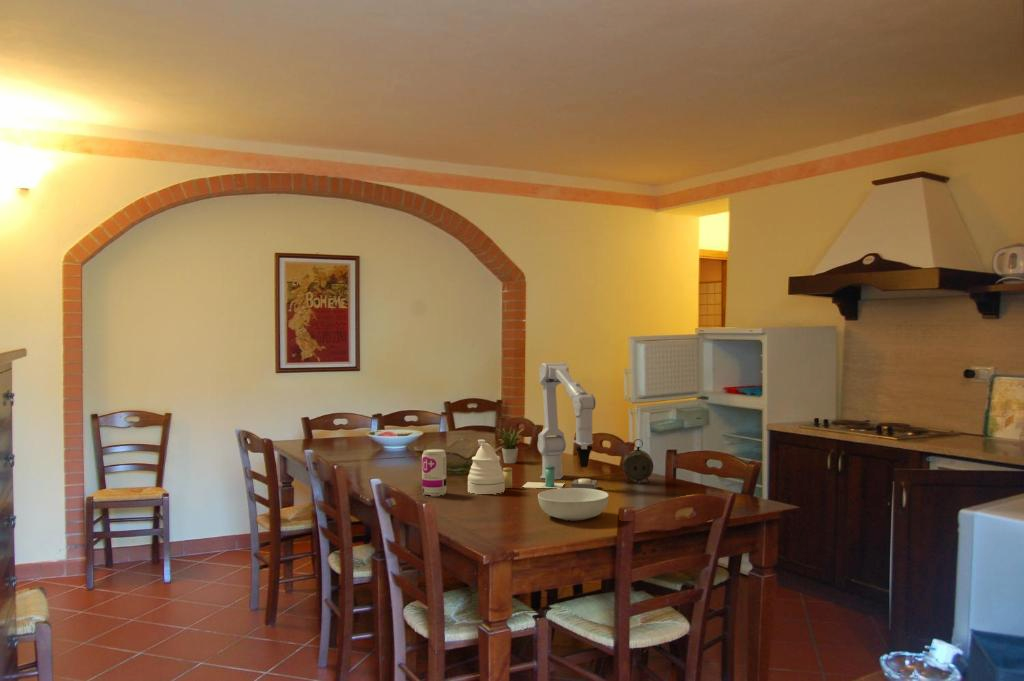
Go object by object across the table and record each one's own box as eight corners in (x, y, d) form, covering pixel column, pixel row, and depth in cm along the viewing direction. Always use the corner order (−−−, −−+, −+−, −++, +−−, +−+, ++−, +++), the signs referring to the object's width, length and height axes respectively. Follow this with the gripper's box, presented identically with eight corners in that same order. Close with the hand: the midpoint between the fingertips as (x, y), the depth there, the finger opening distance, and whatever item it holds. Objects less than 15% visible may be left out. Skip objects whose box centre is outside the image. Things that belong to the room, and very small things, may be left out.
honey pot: (482, 496, 252) (482, 443, 252) (460, 490, 262) (460, 439, 262) (512, 491, 260) (512, 439, 260) (489, 486, 270) (489, 436, 270)
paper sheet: (527, 482, 276) (527, 481, 276) (564, 484, 273) (564, 483, 273) (521, 487, 266) (521, 487, 266) (560, 489, 263) (560, 488, 263)
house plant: (485, 464, 319) (485, 426, 319) (496, 459, 332) (496, 422, 333) (517, 465, 315) (517, 427, 315) (527, 460, 328) (527, 423, 328)
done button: (579, 486, 267) (579, 478, 267) (591, 487, 266) (591, 478, 266) (577, 489, 263) (577, 480, 263) (590, 489, 262) (589, 480, 262)
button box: (574, 486, 269) (574, 479, 269) (597, 486, 267) (596, 480, 267) (571, 490, 261) (571, 483, 261) (594, 491, 259) (594, 484, 259)
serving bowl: (564, 506, 236) (564, 484, 236) (622, 516, 222) (622, 492, 222) (523, 518, 219) (523, 495, 219) (582, 529, 206) (582, 504, 206)
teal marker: (546, 485, 269) (546, 465, 270) (555, 485, 269) (555, 466, 269) (544, 486, 266) (544, 466, 266) (553, 487, 265) (553, 467, 266)
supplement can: (434, 497, 250) (434, 452, 250) (417, 494, 255) (417, 450, 255) (451, 493, 256) (451, 450, 256) (433, 491, 261) (433, 448, 261)
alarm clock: (652, 482, 276) (652, 438, 276) (653, 484, 271) (653, 440, 271) (622, 481, 277) (622, 438, 277) (623, 484, 272) (623, 439, 272)
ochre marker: (504, 487, 268) (503, 467, 268) (513, 487, 267) (512, 467, 267) (501, 488, 265) (501, 468, 265) (511, 489, 264) (510, 469, 264)
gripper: (573, 425, 272) (573, 463, 272) (572, 430, 258) (572, 470, 258) (592, 426, 271) (592, 463, 271) (593, 430, 257) (593, 470, 257)
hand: (584, 466), depth 264 cm, fingers closed
